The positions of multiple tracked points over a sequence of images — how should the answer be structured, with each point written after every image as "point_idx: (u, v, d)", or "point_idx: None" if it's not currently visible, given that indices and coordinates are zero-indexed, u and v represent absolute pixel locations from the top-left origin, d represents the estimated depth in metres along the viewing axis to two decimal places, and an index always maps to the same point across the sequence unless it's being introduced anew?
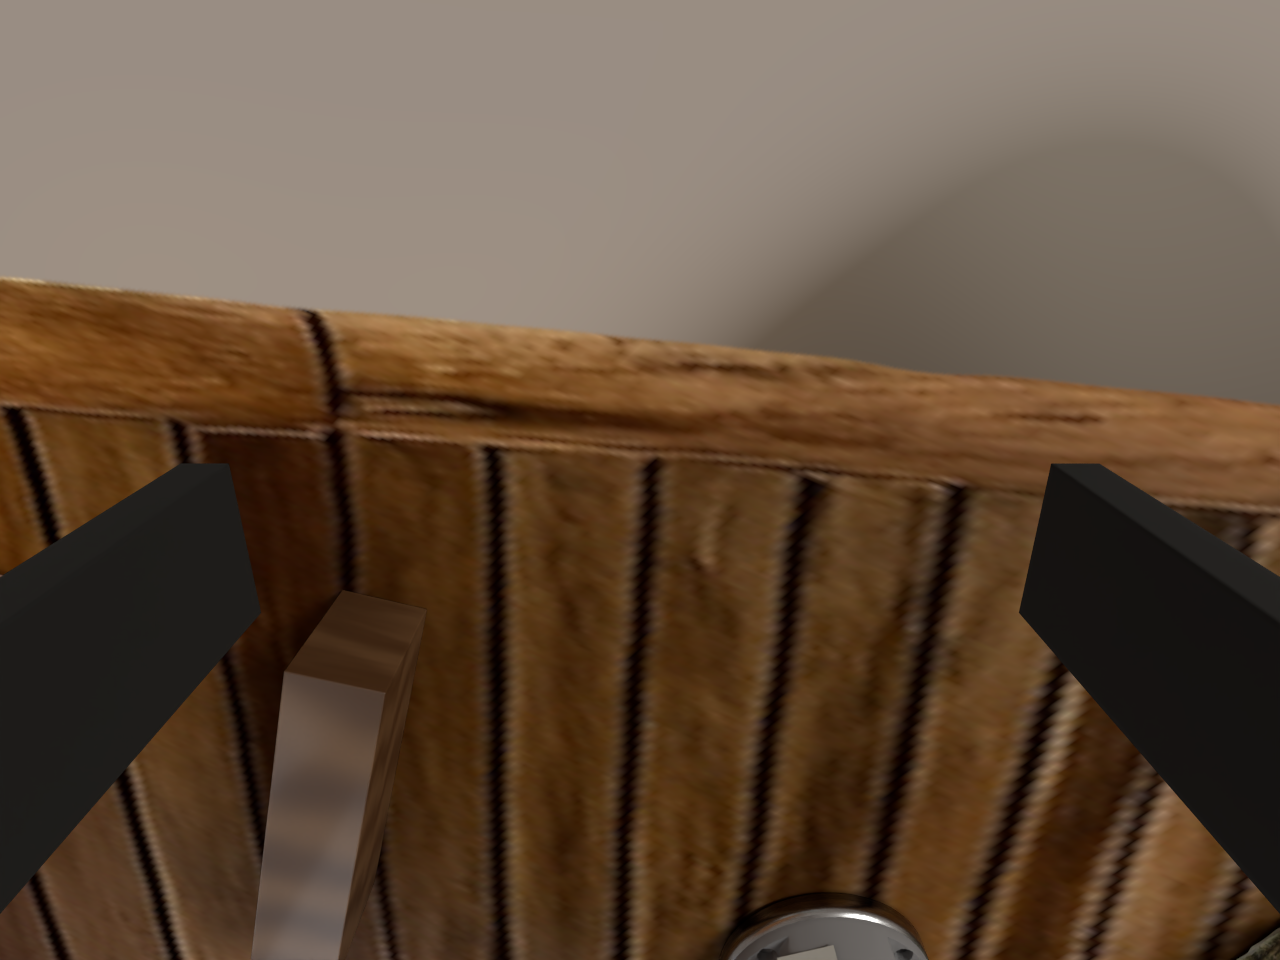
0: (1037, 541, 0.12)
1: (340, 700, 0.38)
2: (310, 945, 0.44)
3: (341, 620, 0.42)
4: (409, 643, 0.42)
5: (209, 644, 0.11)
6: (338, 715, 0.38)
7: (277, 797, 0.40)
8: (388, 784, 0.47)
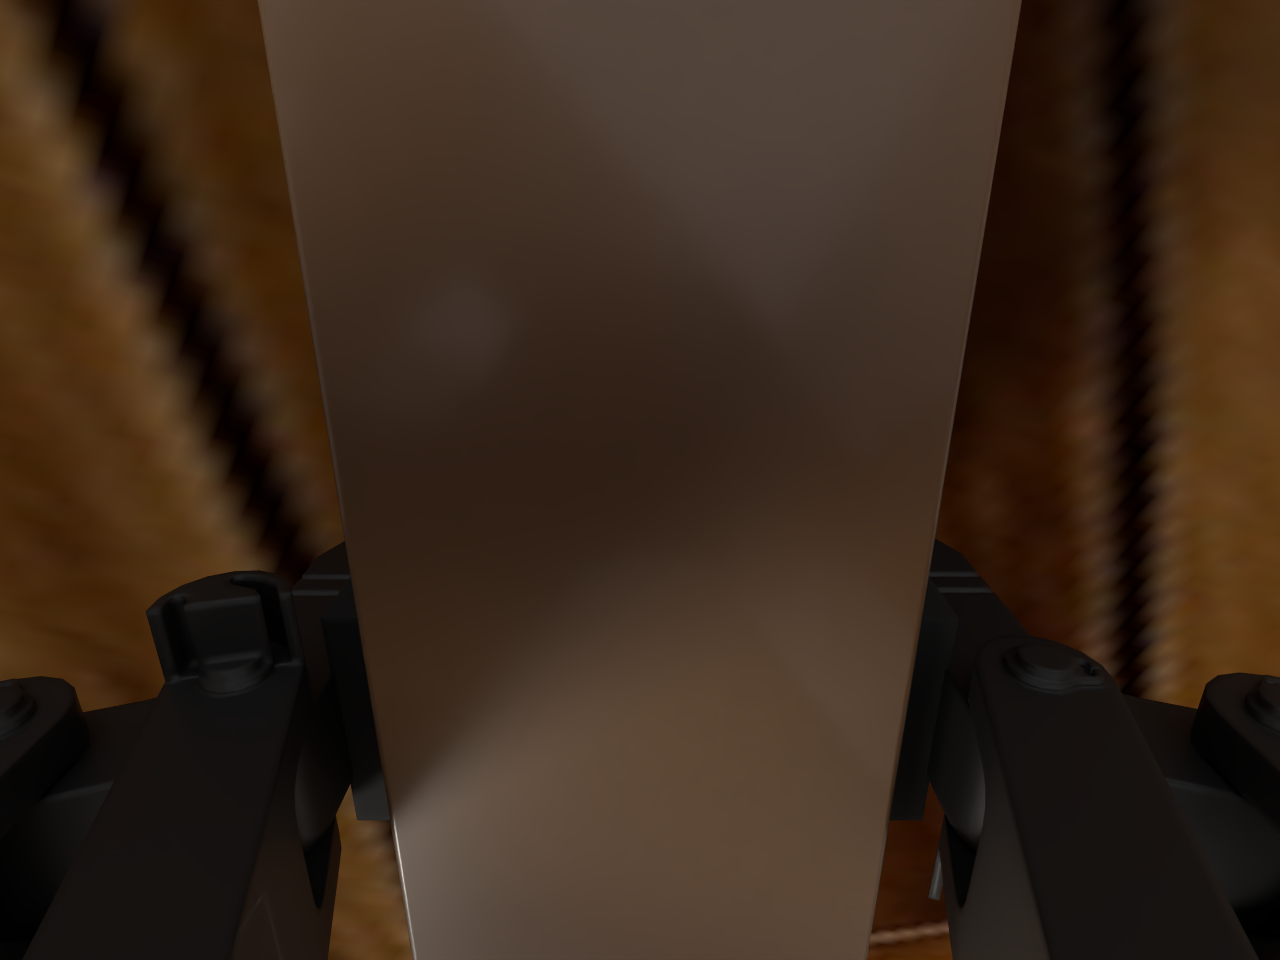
0: None
1: None
2: None
3: None
4: None
5: None
6: (601, 916, 0.08)
7: (915, 328, 0.06)
8: None
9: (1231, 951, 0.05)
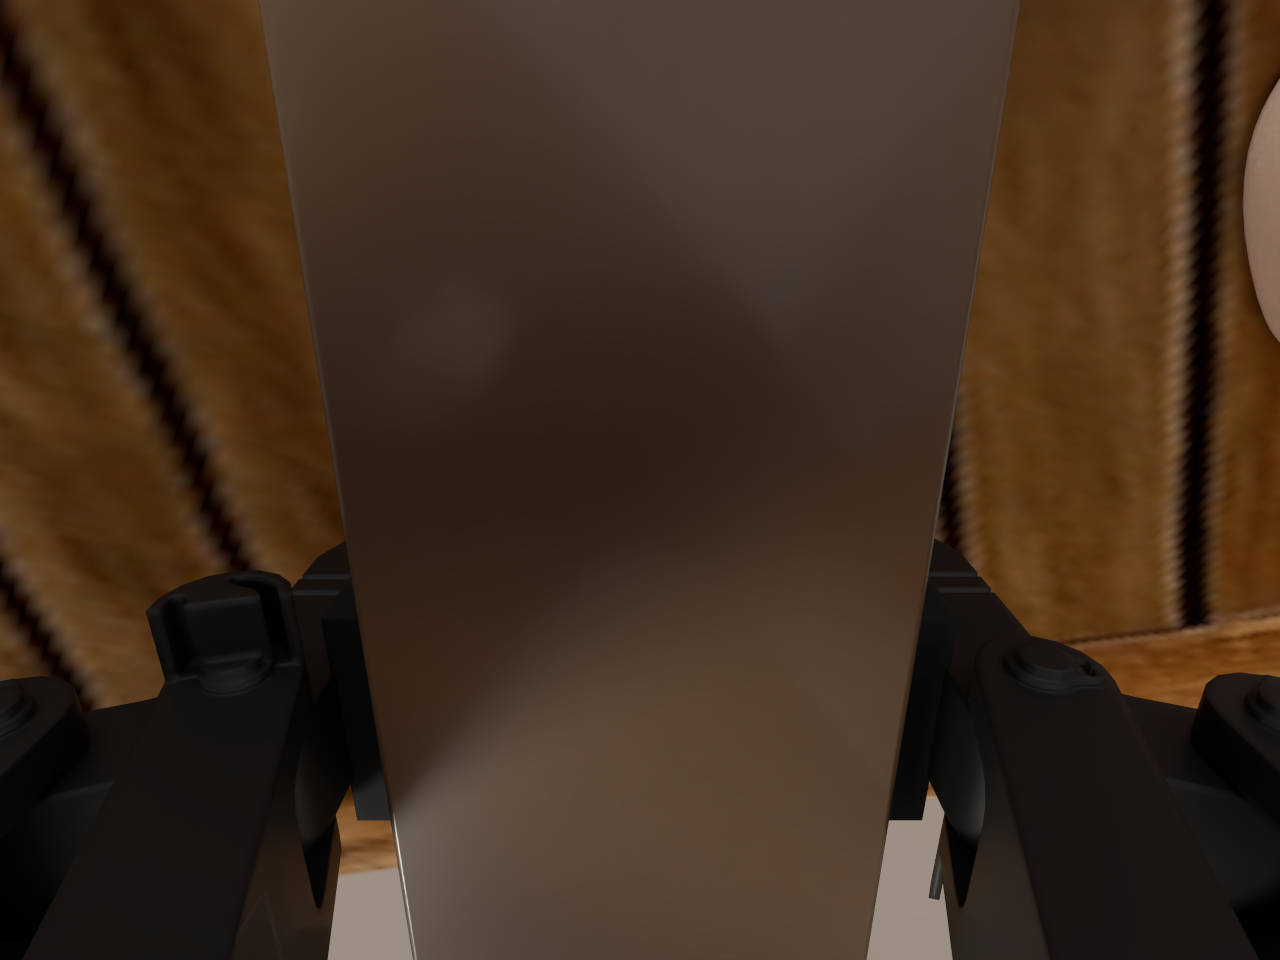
0: None
1: None
2: None
3: None
4: None
5: None
6: (602, 916, 0.08)
7: (915, 330, 0.06)
8: None
9: (1230, 951, 0.05)
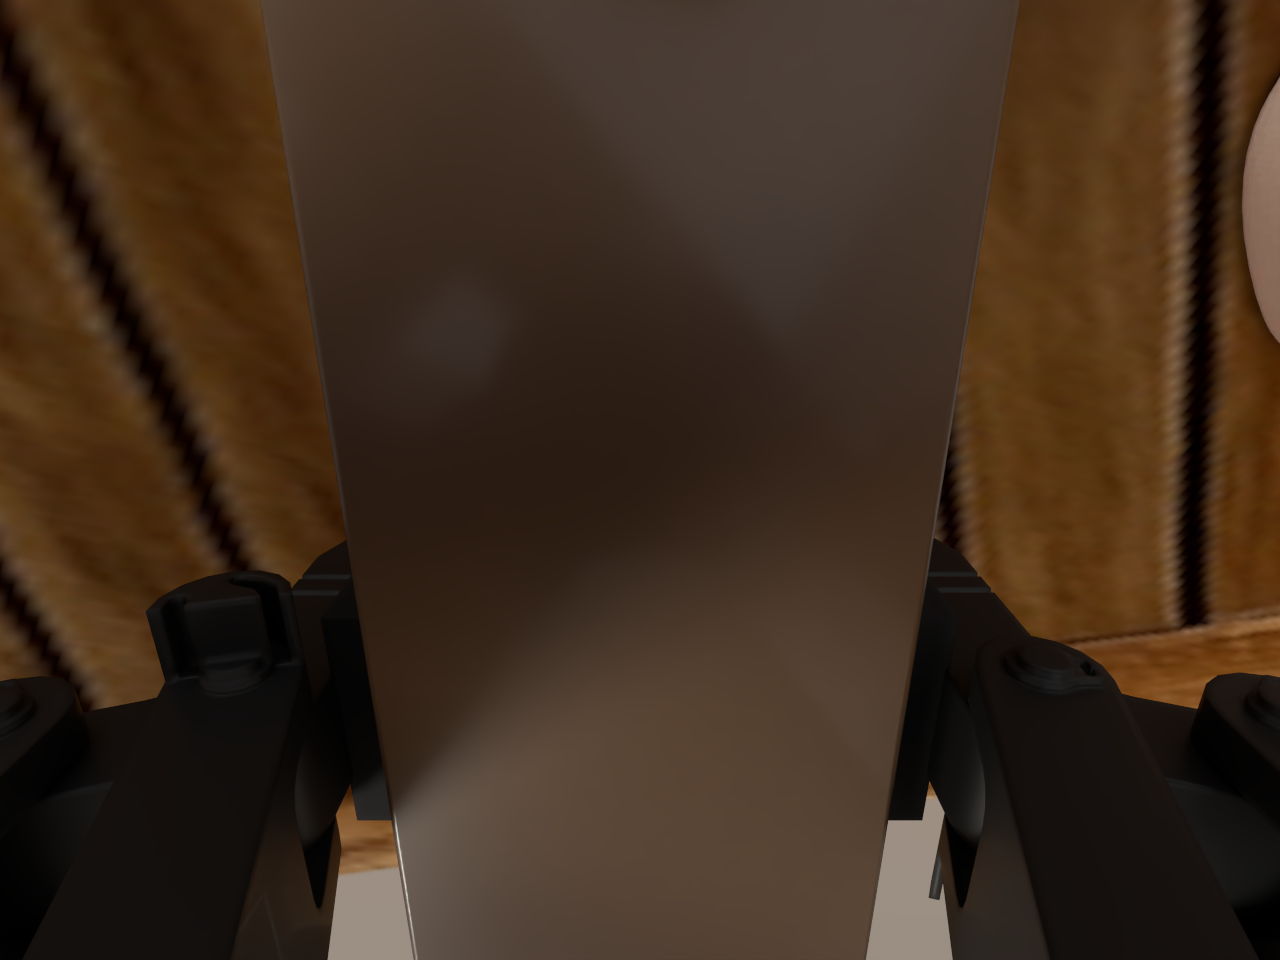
0: None
1: None
2: None
3: None
4: None
5: None
6: (602, 915, 0.08)
7: (914, 330, 0.06)
8: None
9: (1231, 951, 0.05)
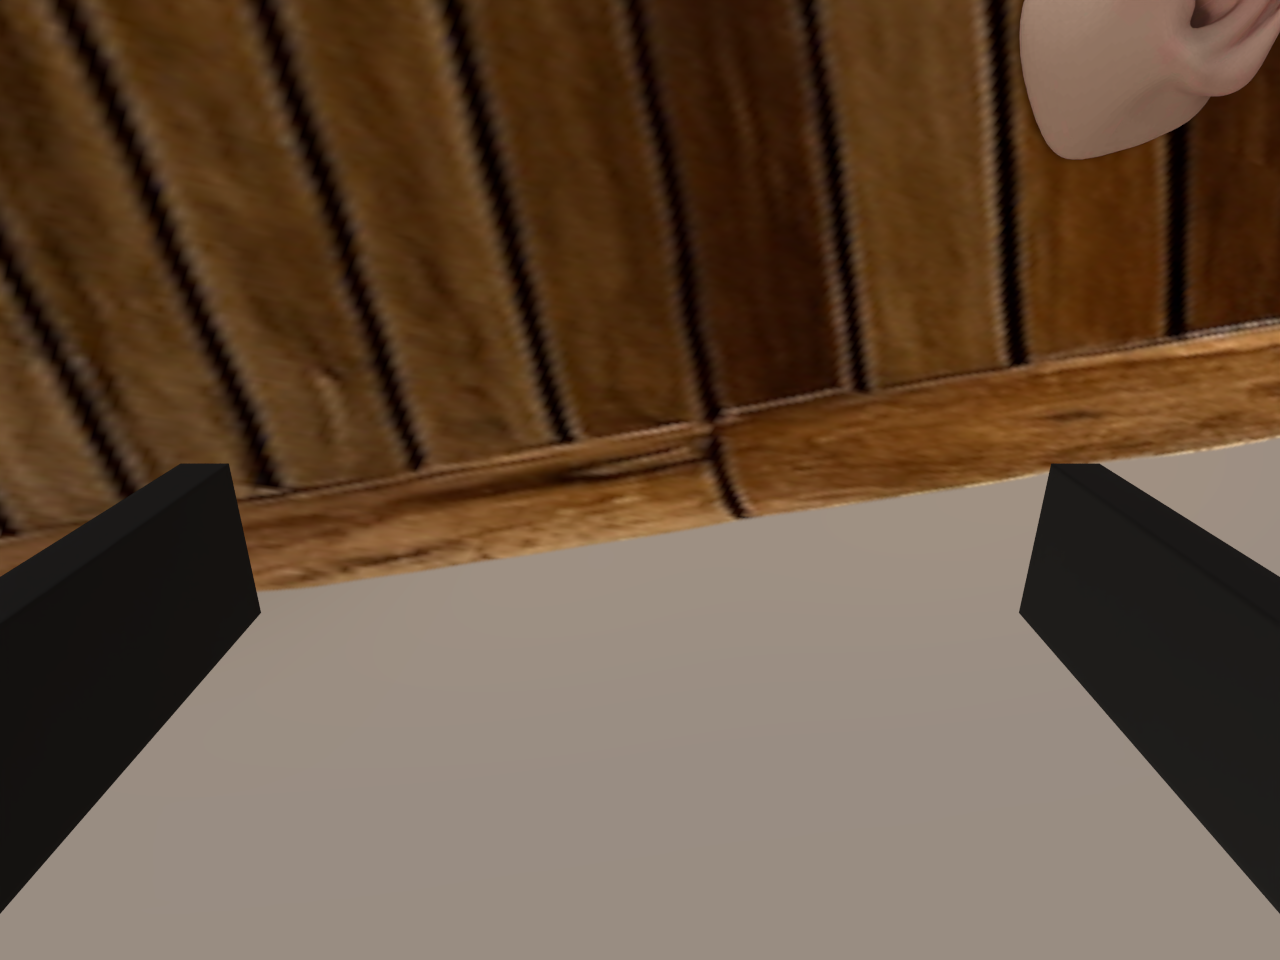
0: (1037, 542, 0.12)
1: None
2: None
3: None
4: None
5: (209, 644, 0.11)
6: None
7: None
8: None
9: None
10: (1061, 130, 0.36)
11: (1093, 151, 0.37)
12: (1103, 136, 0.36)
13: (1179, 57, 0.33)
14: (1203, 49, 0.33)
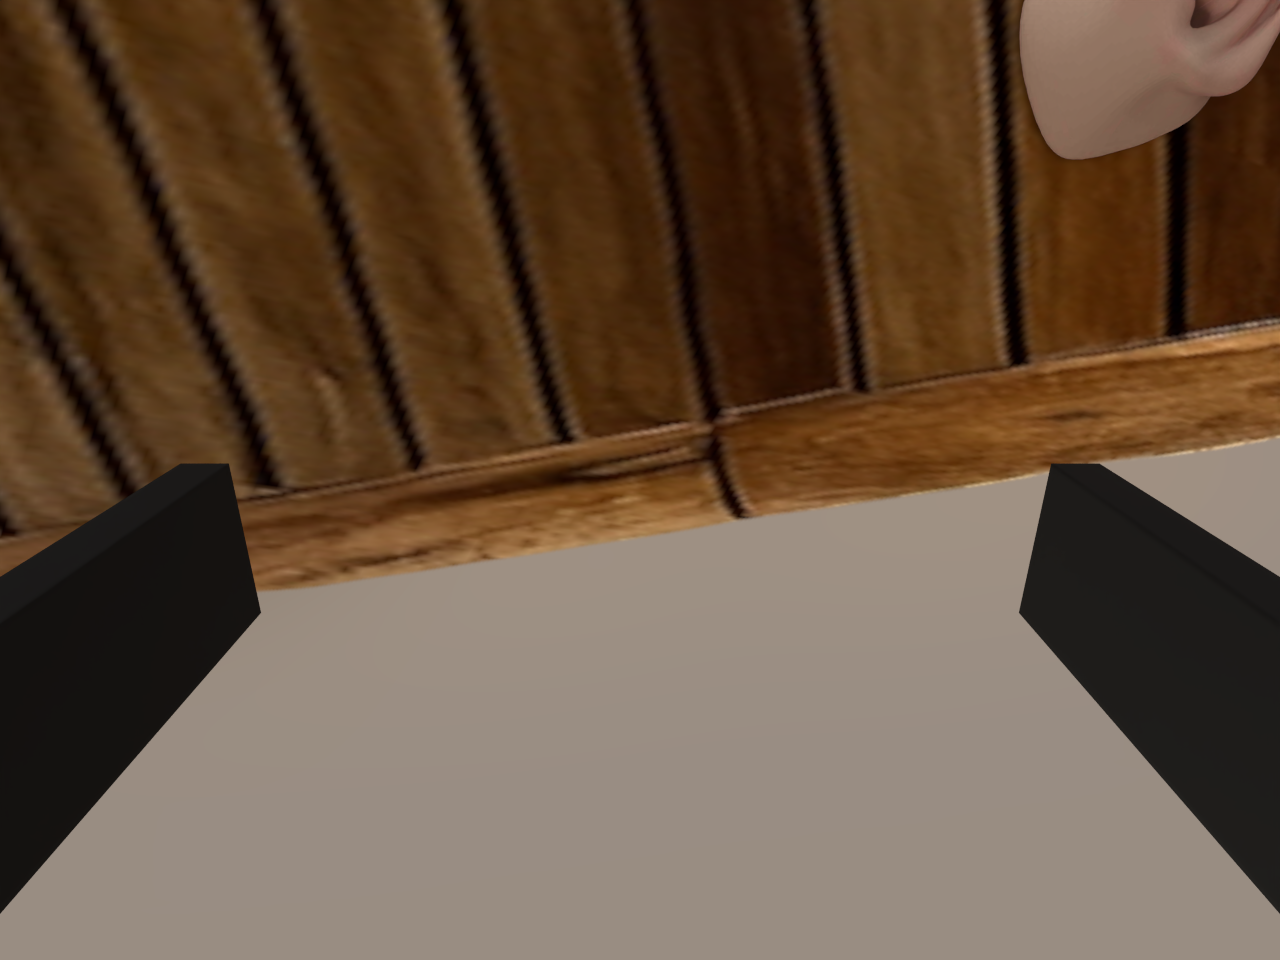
0: (1037, 542, 0.12)
1: None
2: None
3: None
4: None
5: (209, 644, 0.11)
6: None
7: None
8: None
9: None
10: (1061, 130, 0.36)
11: (1093, 151, 0.37)
12: (1103, 136, 0.36)
13: (1179, 57, 0.33)
14: (1203, 49, 0.33)
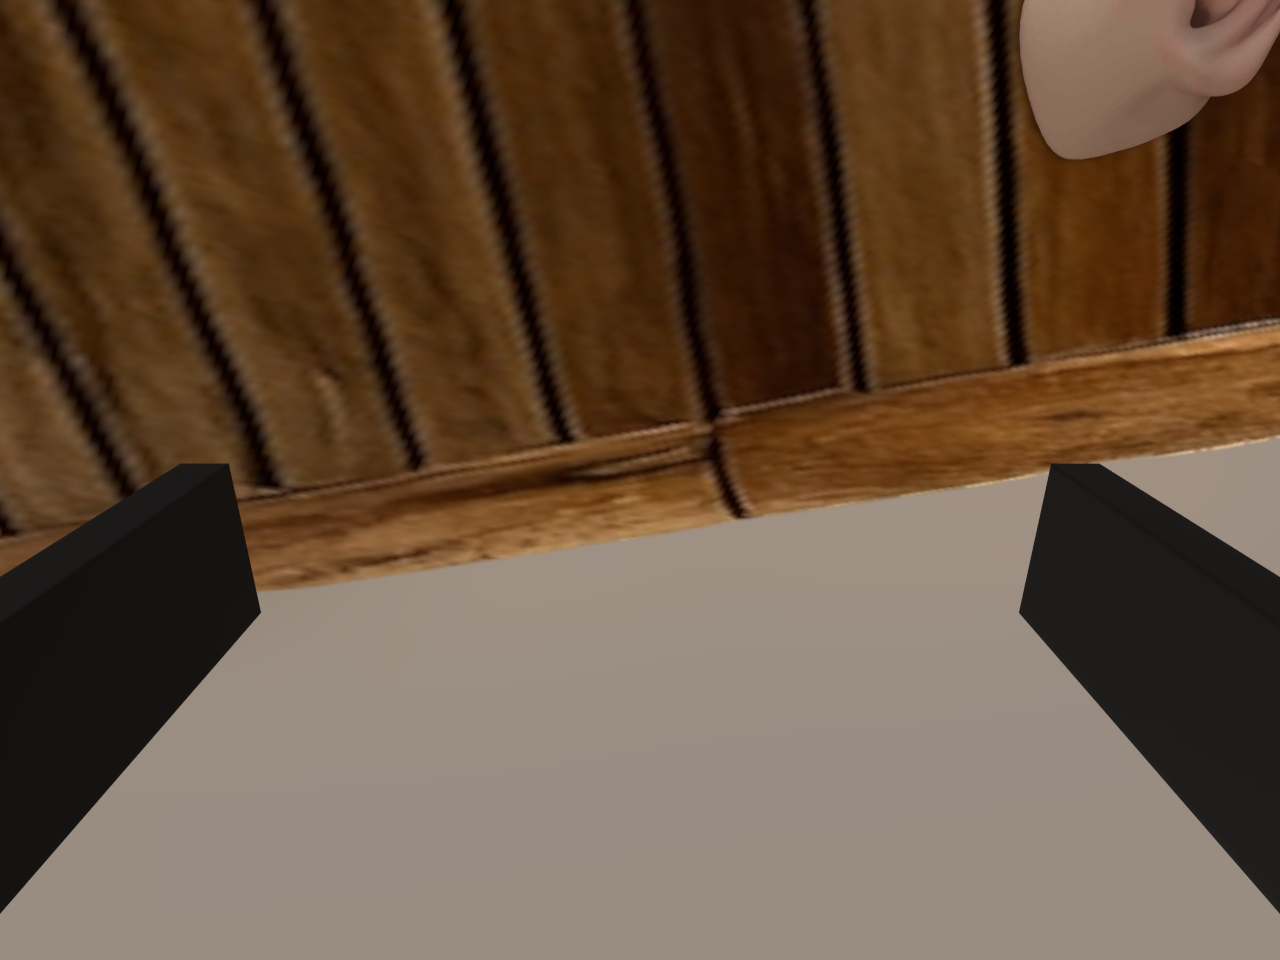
0: (1037, 542, 0.12)
1: None
2: None
3: None
4: None
5: (209, 644, 0.11)
6: None
7: None
8: None
9: None
10: (1061, 130, 0.36)
11: (1093, 151, 0.37)
12: (1103, 136, 0.36)
13: (1179, 57, 0.33)
14: (1203, 49, 0.33)
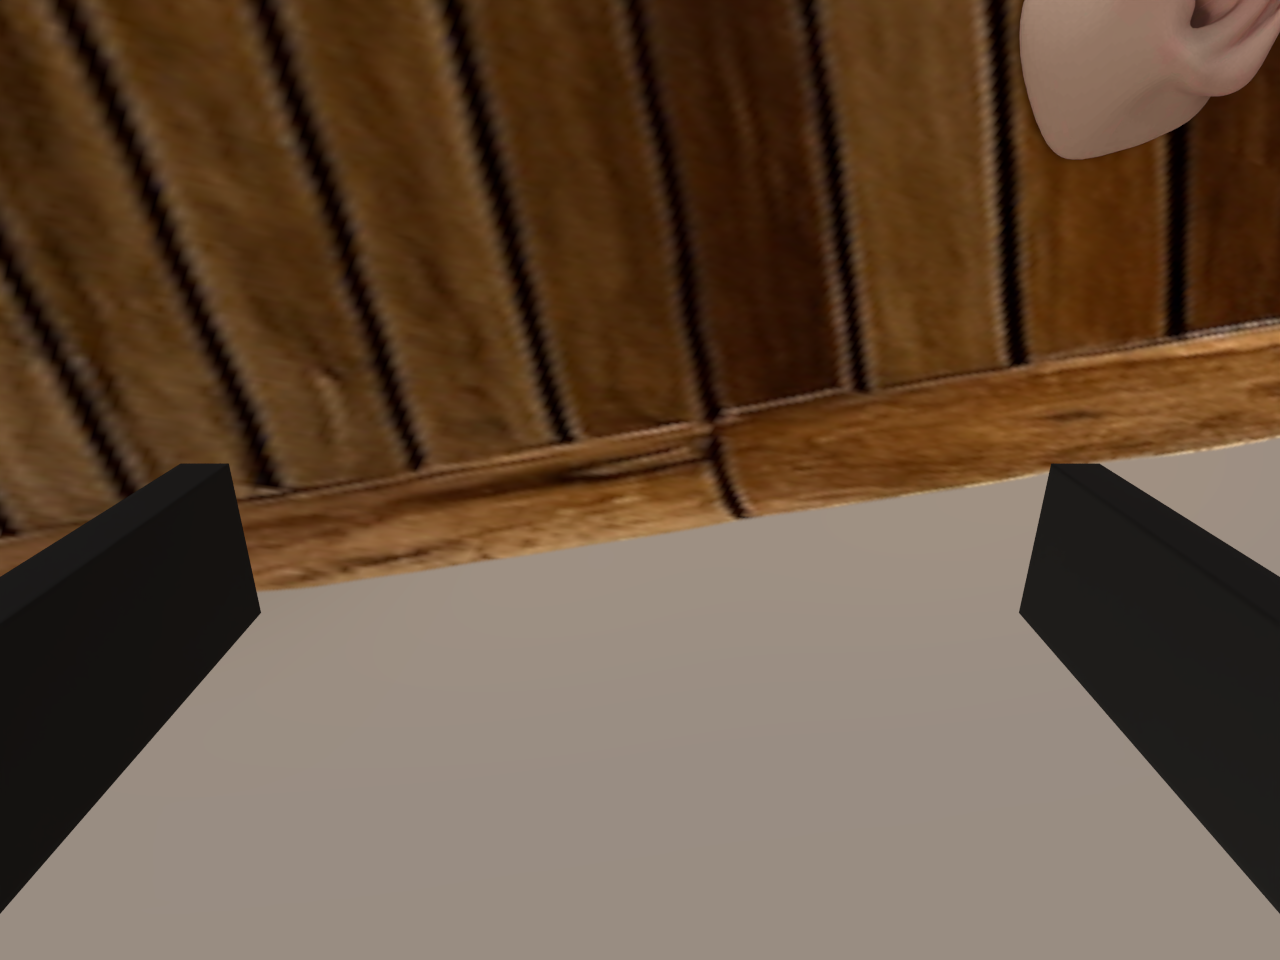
0: (1037, 542, 0.12)
1: None
2: None
3: None
4: None
5: (209, 644, 0.11)
6: None
7: None
8: None
9: None
10: (1061, 130, 0.36)
11: (1093, 151, 0.37)
12: (1103, 136, 0.36)
13: (1179, 57, 0.33)
14: (1203, 49, 0.33)
